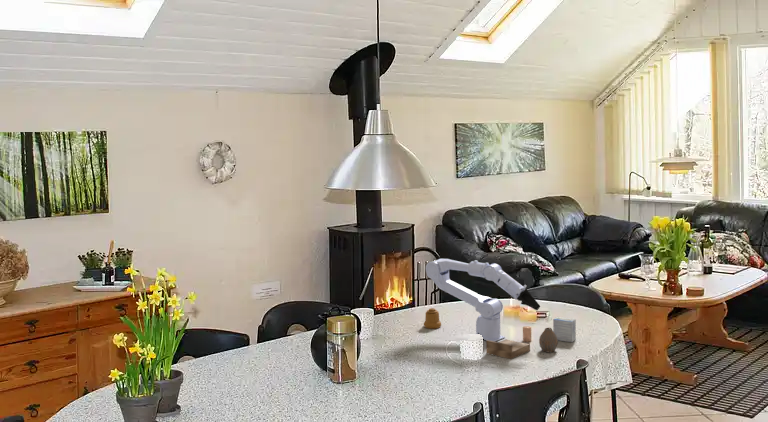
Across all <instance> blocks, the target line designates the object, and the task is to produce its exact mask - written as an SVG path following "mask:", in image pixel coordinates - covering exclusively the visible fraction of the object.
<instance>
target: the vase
mask: <svg viewBox="0 0 768 422" xmlns="http://www.w3.org/2000/svg"><path fill="white" fill-rule="evenodd" d="M552 328H553V327H545V328H544V330H543V332H541V334H540V336H539V340H538V341H539V342H538V343H539V347H540V349H541V350H542V351H543V352H546V353H553V352H555V350H556V349H557V348H558V345H559V340H558V339H557V336H556V334H555V333H554V332H553V329H552Z"/></svg>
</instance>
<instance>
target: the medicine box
mask: <svg viewBox="0 0 768 422" xmlns="http://www.w3.org/2000/svg"><path fill="white" fill-rule="evenodd" d="M576 321H577V319H576V318H570V317H563V316H557V317H555V318H554V319H553V326H552V328H553V329H552V330H553V332H554V333H555V334H556V336H557V339H558V342H566V343H567V342H568V343H573V342H575V341H576V338H577V337H576V335H577V334H576V333H577V332H576V326H577V325H576V323H577V322H576Z"/></svg>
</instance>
